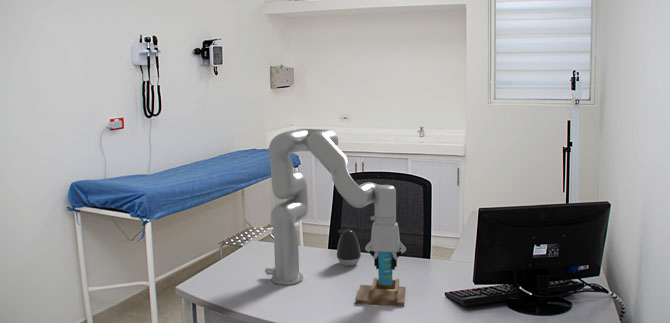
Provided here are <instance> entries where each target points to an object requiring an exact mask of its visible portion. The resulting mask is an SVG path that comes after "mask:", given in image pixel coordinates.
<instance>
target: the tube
mask: <svg viewBox="0 0 670 323" xmlns="http://www.w3.org/2000/svg"><path fill="white" fill-rule="evenodd" d="M377 270H378V271H377V272H378V278H379V284H380V285H391V284H392V279H393V271H394V270H393V254H392V252H378V269H377Z"/></svg>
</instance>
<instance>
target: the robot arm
mask: <svg viewBox="0 0 670 323" xmlns="http://www.w3.org/2000/svg"><path fill="white" fill-rule="evenodd" d="M338 145H339V138H338V136H337V134H336V133H335V132H334V131H332V129H331V130H330V129H325V128H324V129H322V128H321V129H320V128H317V129H316V128H297V129H291V130H287V131H284V132H281V133H279V134H277V135H276V136H274V137H273V138H272V140H271V141H270V143H269V145H268V146H269V147H268V154H269V161H270V163H269V164H270V175H271V177H270V178H271V188H272V194H273V196H274V197H275V198H277V199H279V200H284V201H281V202H279V203H277V204H276V205H274V207H273V208H272V209H271V212H270V221H271V225H272V229H273V230H272V231H273V243H274V244H273V246H274V247H273V248H274V249H273V250H274V267H272V268H271V267H265V269H264V273H265V274H266V275H268V276H269V275H272V276H271V282H272V283H274V284H277V285H281V286H283V285H284V286H291V285H295V284H299V283H301V282H302V281H303V280H304V275H303V273H301V272H300V261H299V260H300V258H299V257H300V255H299V254H300V253H299V234H298V230H297V228H296V225H295V224H296V223H297V222H299V221H301V220H303V219H305V218H306V216H307V215H308V210H309V201H308V200H309V197H308V186H307V181H306V179H305V177H304V175H303V174H302V173H301V172H299V171H296V170H294V166H293V165H294V164H293V160H292V157H291V156H290V155H291V154H294V153H298V152H301V151H309V152H310V153H311V154H312V155H313V156H314V157H315V159H317V161H319V162H320V163H321V164H320V165H322V166H323V167H324V168H325V169H326V170H327V171H328V172H329V173H330V175H331V180H332V182H333V184H334V186H335V189H336V190H337V192H338V193H339V194H340V196H341V197H342V198H343V199H344V200H345V201H346V202H347V203H348V204H349V205H350V206H352V207H353V208H357V209H362V208H364V207H367V206H368V205H369V204H373V203H374V215H370V221H373V223H372V226H371V235H370V236H371V237H370V241H369V242H368V243H367V244H366V245H365V247H364V250H365V251H366V252H368V253H369V254H370V255H371V257H372V258H373V259H374V260H373V262H374V263H373V264H374V267H375V269H376V270H378V252H392V254H393V270H392V271H395V270H396V268H397V267H398V266H397V265H398V260H397V259H398V258H399V257H401V255H402V254H403V253H405V252H406V251H407V247H406V246H405V245H404V244H403V243H402V241H401V240H400V238H401V237H400V228H399V223H398V222H397V191H396V187H394V186H393V185H391V184H378V183H374V182H363V183H362V184H358V183H356V181H355V180H354V179H353V178H352V176H351V175H350V172H349V170H348V164H349V157H347V156H346V154H345V153H344V152H343V151H342V150H341V149H340V148H339V147H338Z"/></svg>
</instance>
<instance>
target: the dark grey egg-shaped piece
mask: <svg viewBox="0 0 670 323" xmlns="http://www.w3.org/2000/svg"><path fill="white" fill-rule="evenodd" d="M337 233H339V234H340V238H339V240H338V244H337V248H336V258H337V261H338V262H339V263H340V264H341V265H342V266H345V267H352V266H356V265H357V263H358V262H359V261H360V259H361V256H362V253H361V247H360V244H359V241H358V237H357V235H356V233H355V231H353V230H351V229H345V230H344V231H342V230H341V229H337Z"/></svg>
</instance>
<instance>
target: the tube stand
mask: <svg viewBox="0 0 670 323" xmlns="http://www.w3.org/2000/svg"><path fill="white" fill-rule="evenodd" d="M406 289H407V288H406V286H400V278H392V284H391V285H380V284H379V277H374V278H373V282H372V284H368V285H367V284H360V285H359V290H358V292H357V295H356V299H355V302H356V303H355V304H356V305H366V306H367V305H369V306H372V305H373V306H386V307H387V306H389V307H390V306H391V307H394V306H395V307H405V303H406V302H405V301H406Z"/></svg>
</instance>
